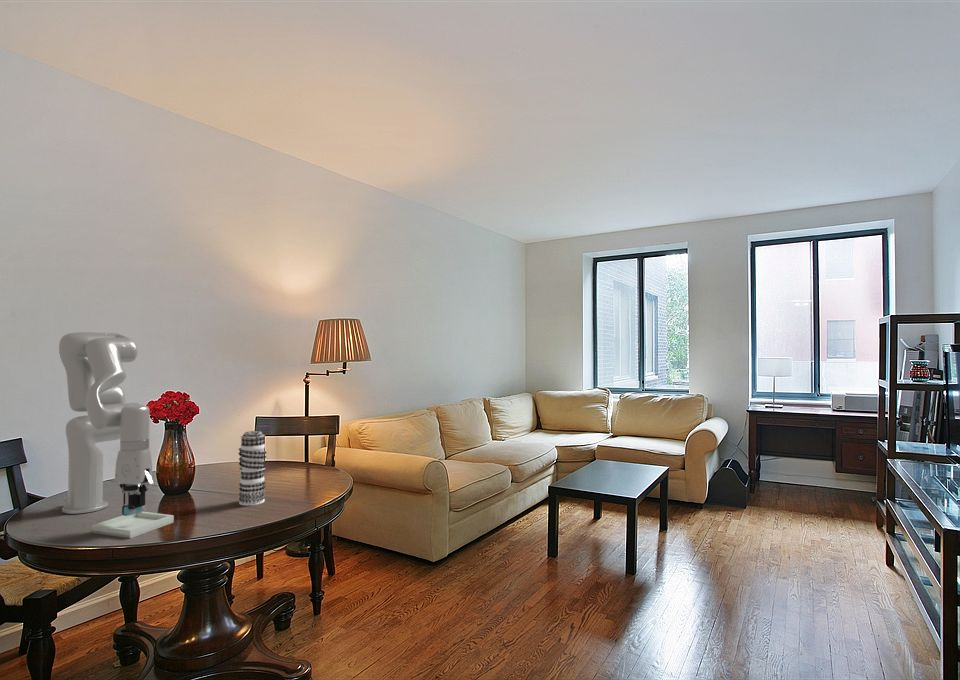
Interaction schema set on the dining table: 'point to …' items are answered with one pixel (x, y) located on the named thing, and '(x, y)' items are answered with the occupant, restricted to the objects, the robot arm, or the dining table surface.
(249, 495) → the decorative candle
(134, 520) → the tray
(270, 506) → the dining table surface
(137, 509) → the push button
